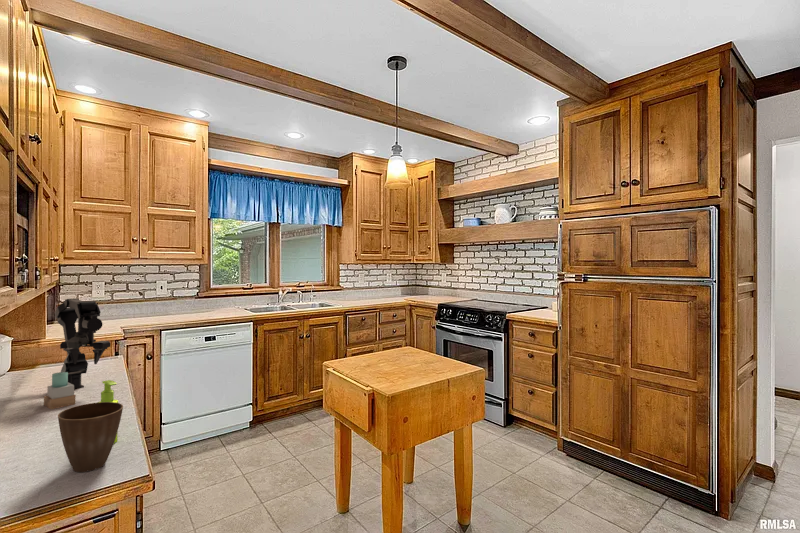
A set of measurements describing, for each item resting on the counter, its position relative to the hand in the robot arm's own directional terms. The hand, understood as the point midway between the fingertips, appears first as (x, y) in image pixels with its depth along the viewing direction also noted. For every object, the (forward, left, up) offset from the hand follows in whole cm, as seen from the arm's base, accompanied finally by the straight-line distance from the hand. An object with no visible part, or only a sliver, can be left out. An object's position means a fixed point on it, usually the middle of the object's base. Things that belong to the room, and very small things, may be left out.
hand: (85, 364), depth 186 cm
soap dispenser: (+68, -15, -13) cm, 71 cm away
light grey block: (+10, -11, -9) cm, 18 cm away
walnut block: (+10, -12, -13) cm, 21 cm away
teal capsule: (+10, -12, -5) cm, 17 cm away
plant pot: (+82, -24, -13) cm, 86 cm away
